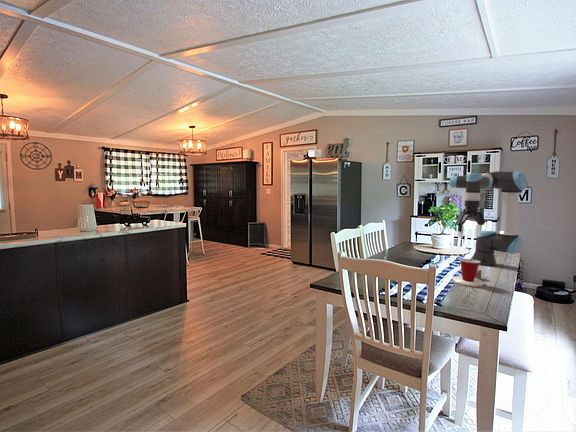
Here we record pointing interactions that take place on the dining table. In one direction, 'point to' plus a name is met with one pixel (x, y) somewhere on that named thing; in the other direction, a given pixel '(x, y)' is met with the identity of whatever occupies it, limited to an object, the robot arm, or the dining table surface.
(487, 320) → the dining table surface
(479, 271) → the walnut block
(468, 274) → the plastic cup
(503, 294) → the dining table surface
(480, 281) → the disc
